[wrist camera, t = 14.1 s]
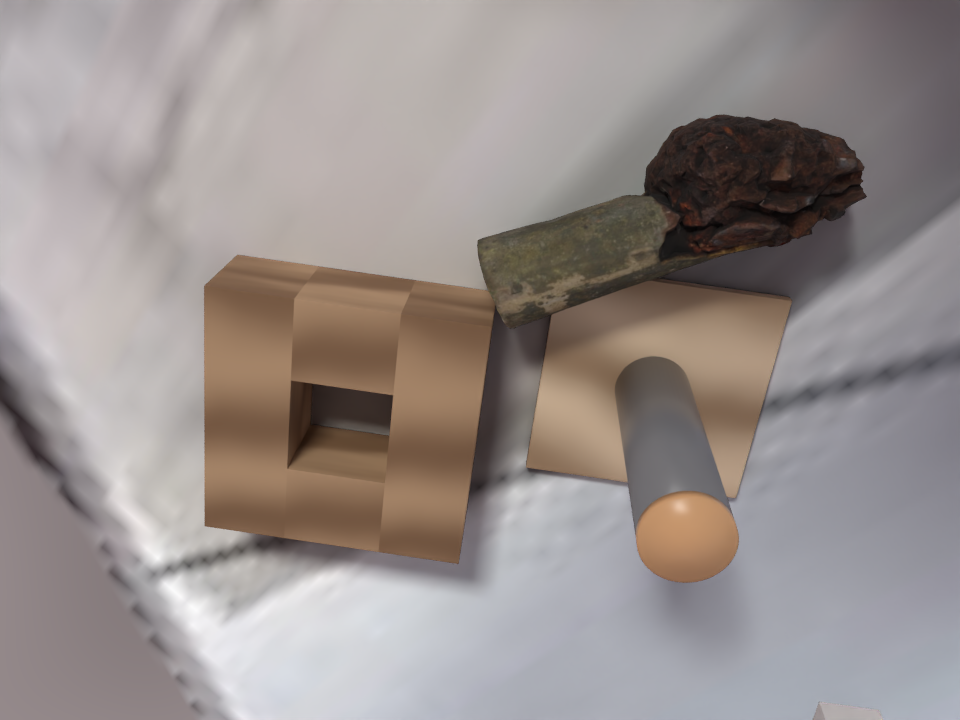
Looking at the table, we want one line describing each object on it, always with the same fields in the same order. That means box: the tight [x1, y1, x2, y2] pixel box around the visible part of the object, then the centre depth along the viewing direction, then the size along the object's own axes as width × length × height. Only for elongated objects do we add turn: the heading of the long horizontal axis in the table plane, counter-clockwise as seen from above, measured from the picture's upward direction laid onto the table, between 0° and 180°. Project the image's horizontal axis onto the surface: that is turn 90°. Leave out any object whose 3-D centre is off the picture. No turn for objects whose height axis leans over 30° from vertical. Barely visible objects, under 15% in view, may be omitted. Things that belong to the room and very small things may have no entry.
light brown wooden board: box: [526, 278, 792, 498], centre depth 49 cm, size 12×12×1 cm
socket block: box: [204, 255, 496, 564], centre depth 49 cm, size 14×14×5 cm
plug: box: [615, 356, 739, 583], centre depth 42 cm, size 4×4×14 cm
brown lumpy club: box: [477, 115, 867, 329], centre depth 42 cm, size 18×7×6 cm, turn 110°
